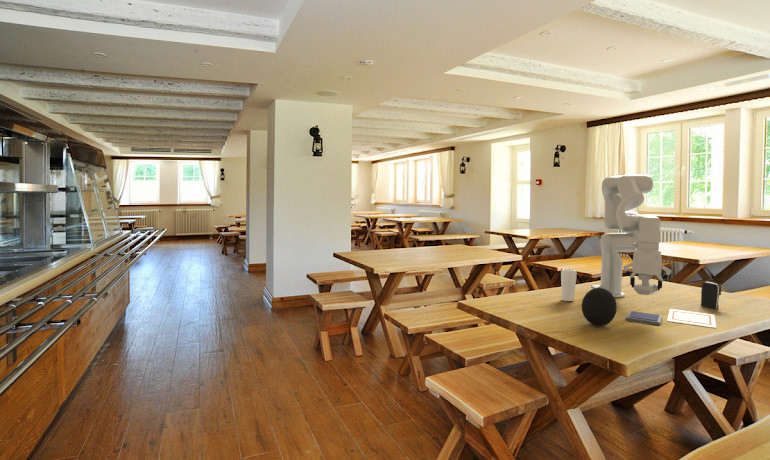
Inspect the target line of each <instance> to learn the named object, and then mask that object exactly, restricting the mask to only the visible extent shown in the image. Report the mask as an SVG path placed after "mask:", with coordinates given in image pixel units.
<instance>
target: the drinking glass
mask: <svg viewBox="0 0 770 460" xmlns="http://www.w3.org/2000/svg"><path fill="white" fill-rule="evenodd" d="M560 281H561V283H560V285H561V286H560V287H561V300H562V299H563V300H566V301H572V302H574V301H573V300H575V289H576V284H577V283H576V282H577V270H576V269H571V268H562V269H561V272H560ZM563 300H562V301H563ZM566 301H565V302H566Z"/></svg>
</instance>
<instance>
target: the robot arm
mask: <svg viewBox="0 0 770 460" xmlns="http://www.w3.org/2000/svg"><path fill="white" fill-rule="evenodd" d="M653 187H654V181H653V179H652V177H651V176H650V175H649V174H645V173H643V174H641V173H639V174H637V173H636V174H635V173H633V174H631V173H630V174H623V175H613V176H607V177H605V178H603V181H602V182H601V193H602V195H603V196H602V197H603V199H604V227H605V228H606V229H607V230H611V231H622V232H605V233H604V234H602V235H601V237H600V241H599V242H600V249H601V267H600V268H601V270H600V284H598V285H596V284H591V286H590V288H591V289H594V288H604V289H606V290H608V291H609V292H610V293H611V294H612V295H613V296H614V298H624V297H625V293H624V292H622V282H623V281H622V280H623V270H624V272H625V274H626V275H627V276H628V277H629V278H630V279H629V282H630V283H629V284H630V285H629V286H631V289H632V288H633V289H634V286H635V285H636V284H635V283H636V277H635V275H639V274H644V275H652V276H656V277H657V278H658V280H657V286H658V288H657V290H658V291H657V292H659V291H661V289H662V288H663V281H664V280H665V279H666V278H668V277H669V276H670V275H671V273H672V269H670V268H668V267H666V266H665V265H663V264H662V261H663V259H662V252H661V250H660V232H661V219H660V217H658V216H655V215H653V214H639V213H638V212H636V211H630V210H634V209H636V208H638V207H640V206H641V205H642V204H643V203H644V201H645V196H644V194H648V193H651V191H652V189H654V188H653ZM619 253H633V256H632V257H633V258H632V262H631V263H628V264H626V265H623V263H624V261H623V258H622V257H621V256H620V254H619ZM631 267H632V268H631ZM629 268H631V271H632V272H631V271H630V270H629ZM663 270H664V272H665V274H663V275H662V271H663Z"/></svg>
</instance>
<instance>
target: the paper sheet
mask: <svg viewBox="0 0 770 460" xmlns="http://www.w3.org/2000/svg"><path fill="white" fill-rule="evenodd" d="M666 319H667V320H666V322H668V323H675V324H682V325H683V324H684V325H688V326H689V325H690V326H696V327H704V328H710V329H717V324H716V316H715V314H712V313H707V312H704V313H703V312H697V311H692V310H691V311H689V310H682V309H675V308H669V310H668V315H667V318H666Z"/></svg>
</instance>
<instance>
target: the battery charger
mask: <svg viewBox="0 0 770 460" xmlns="http://www.w3.org/2000/svg"><path fill="white" fill-rule="evenodd" d="M700 291H701V292H700V294H701V295H700V298H701V299H700V300H701V301H700V305H701V306H702V307H705V308H709V309H714V310H718V309H719V299H720V296H721V295H722V285H721V284H719V283H717V282H714V281H713V282H711V281H703V283H702V284H701V290H700Z"/></svg>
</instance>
